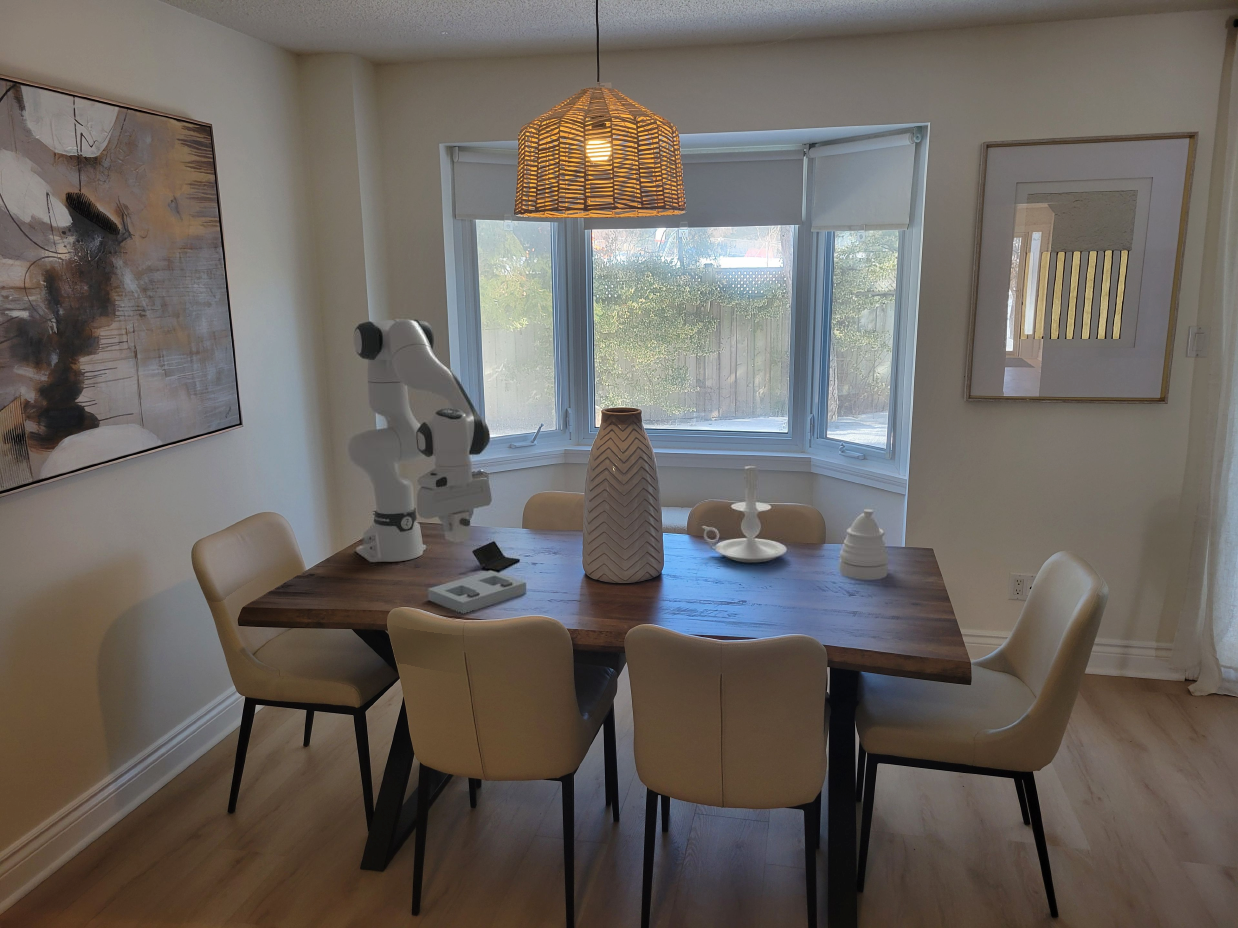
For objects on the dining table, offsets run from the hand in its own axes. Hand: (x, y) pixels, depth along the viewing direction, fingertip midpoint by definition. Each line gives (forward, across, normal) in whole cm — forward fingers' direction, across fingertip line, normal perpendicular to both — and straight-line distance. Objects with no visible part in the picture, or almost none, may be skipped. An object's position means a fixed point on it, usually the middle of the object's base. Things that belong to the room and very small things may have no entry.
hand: (457, 529), depth 215 cm
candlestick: (+20, -77, +31) cm, 86 cm away
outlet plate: (+19, -5, 0) cm, 20 cm away
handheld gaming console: (+20, -25, -18) cm, 37 cm away
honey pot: (+20, -88, +64) cm, 111 cm away
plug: (+4, 0, 0) cm, 4 cm away
